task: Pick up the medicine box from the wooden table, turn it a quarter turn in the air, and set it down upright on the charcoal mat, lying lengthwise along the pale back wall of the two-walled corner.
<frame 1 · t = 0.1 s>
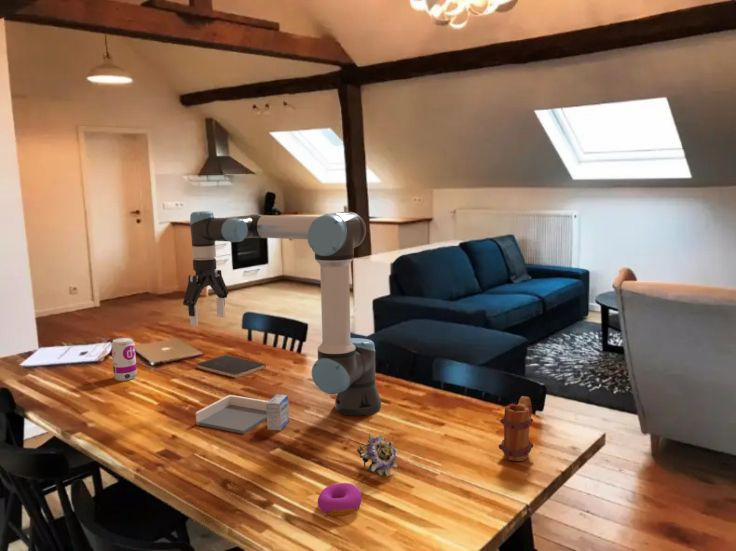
hand: (208, 320, 214), 28 cm above the table, tool pointing down, fingers open, 13 cm apart
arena: (236, 419, 201), on the table
supplement can: (125, 378, 244), on the table
donut: (340, 508, 148), on the table
mug: (518, 454, 174), on the table
passion flower: (376, 471, 166), on the table
hardcover book: (231, 369, 255), on the table
medicine box: (278, 426, 196), on the table
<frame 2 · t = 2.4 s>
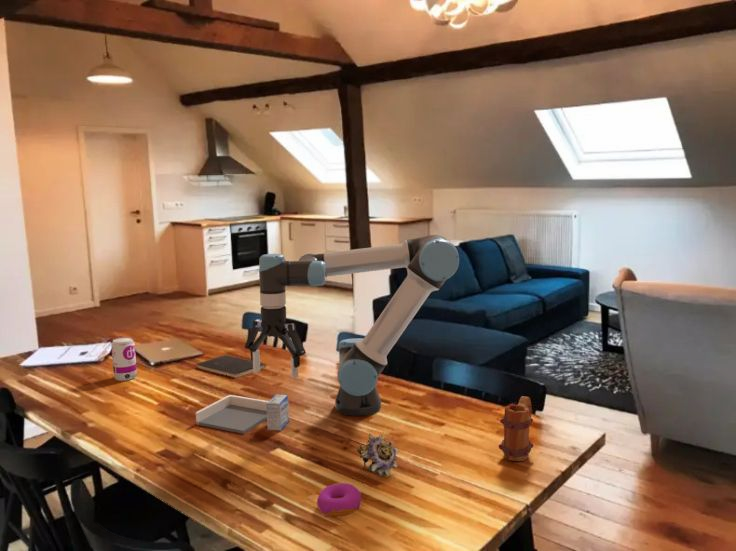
hand: (275, 374, 193), 16 cm above the table, tool pointing down, fingers open, 13 cm apart
nothing on the table moved.
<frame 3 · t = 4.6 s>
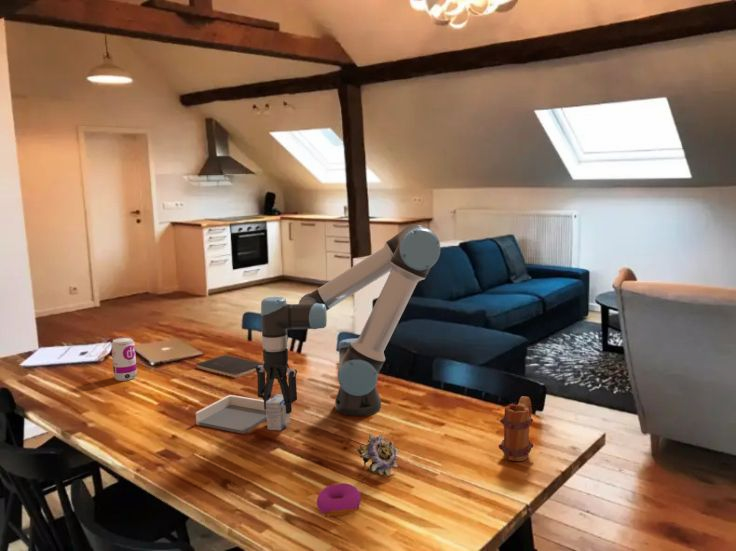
hand: (278, 421, 196), 1 cm above the table, tool pointing down, fingers closed on medicine box, 5 cm apart
medicine box: (278, 426, 196), on the table, touching gripper
everything else where it was.
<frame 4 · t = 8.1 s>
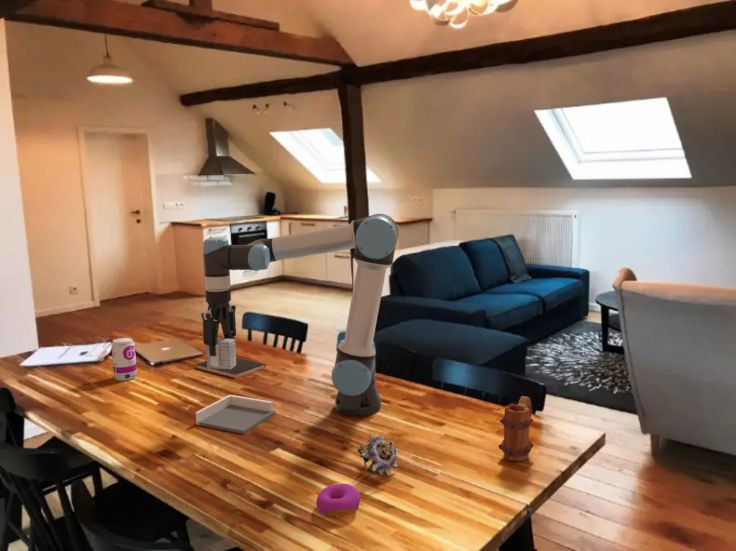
hand: (221, 362, 197), 19 cm above the table, tool pointing down, fingers closed on medicine box, 5 cm apart
medicine box: (221, 367, 197), point 18 cm above the table, touching gripper
everything else where it was.
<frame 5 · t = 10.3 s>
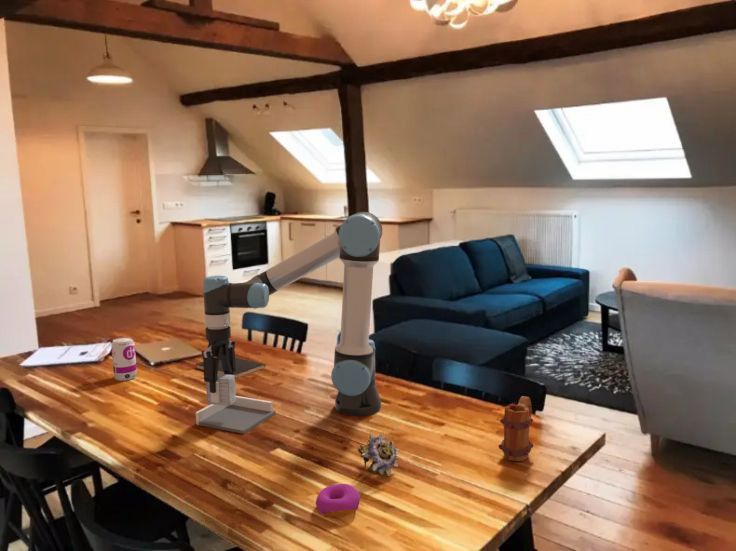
hand: (221, 398, 199), 7 cm above the table, tool pointing down, fingers closed on medicine box, 5 cm apart
medicine box: (221, 403, 199), point 6 cm above the table, touching gripper
everything else where it was.
when the fingers open (4 cm above the table, at t = 11.8 s): medicine box drops 1 cm, resting on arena.
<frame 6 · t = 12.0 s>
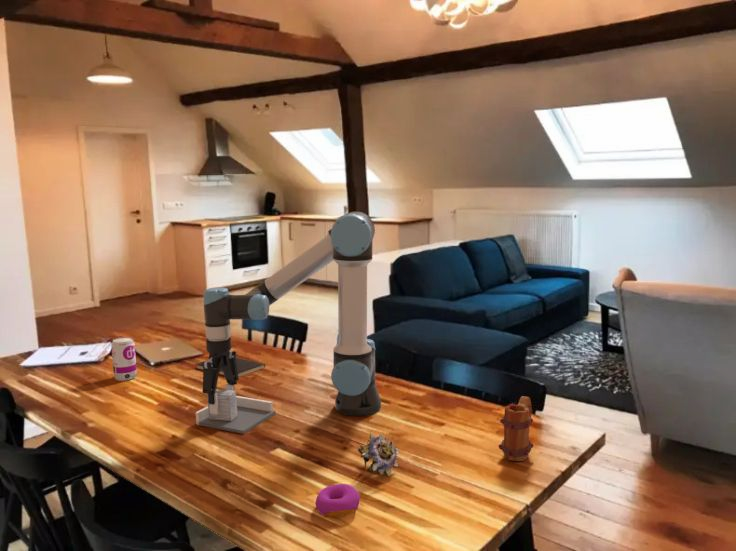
hand: (222, 408, 199), 4 cm above the table, tool pointing down, fingers open, 7 cm apart
medicine box: (223, 418, 200), point 1 cm above the table, touching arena
everything else where it was.
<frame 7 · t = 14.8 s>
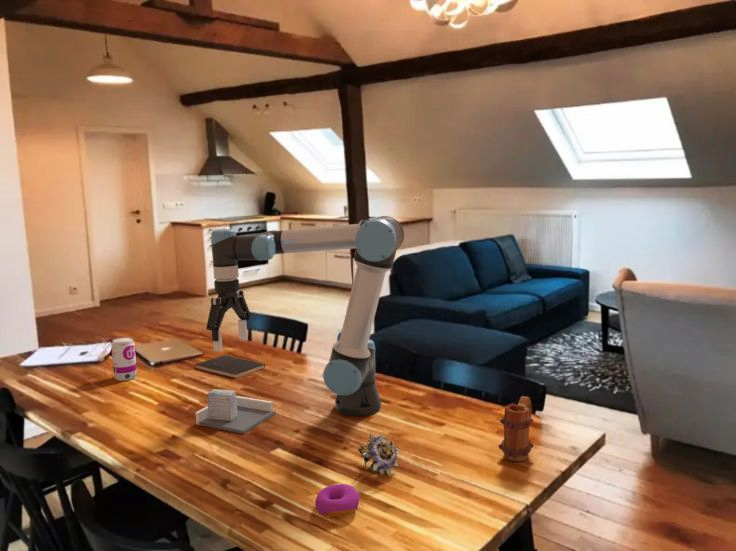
hand: (231, 345, 201), 23 cm above the table, tool pointing down, fingers open, 13 cm apart
nothing on the table moved.
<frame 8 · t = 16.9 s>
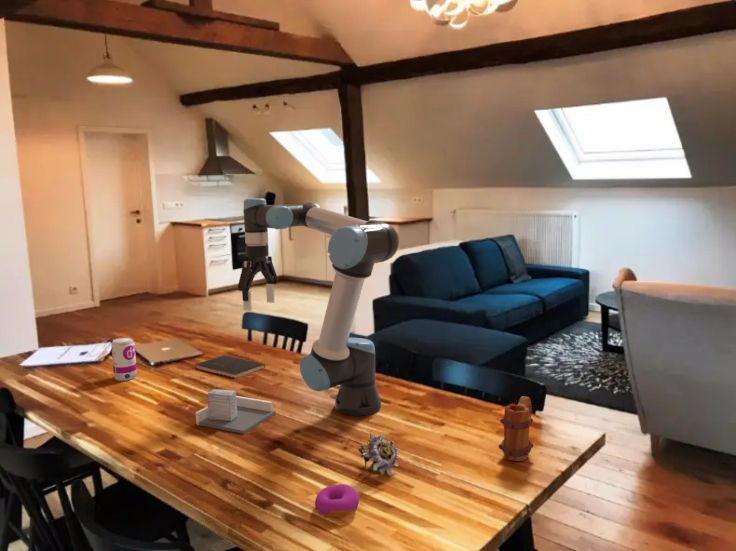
hand: (259, 306, 218), 32 cm above the table, tool pointing down, fingers open, 13 cm apart
nothing on the table moved.
at the end: medicine box inside the target area on the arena (1.1 cm from its centre), point 0.8 cm above the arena's base; medicine box tilted 0°; the gripper is holding nothing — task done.
